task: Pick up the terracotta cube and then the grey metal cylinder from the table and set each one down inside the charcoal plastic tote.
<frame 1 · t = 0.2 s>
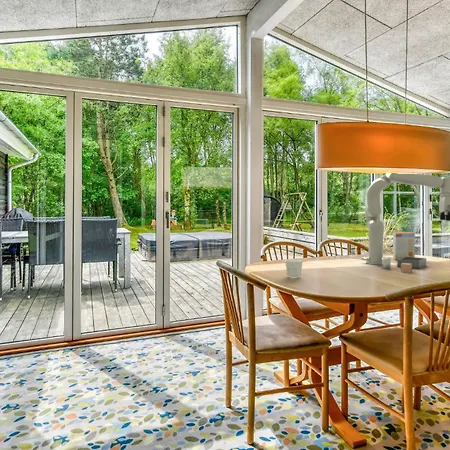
hand: (445, 220, 257), 31 cm above the table, tool pointing down, fingers open, 9 cm apart
metal cylinder: (386, 268, 247), on the table
cracker box: (403, 259, 285), on the table
tote: (411, 266, 256), on the table
cup: (293, 277, 221), on the table
terracotta cube: (406, 271, 237), on the table
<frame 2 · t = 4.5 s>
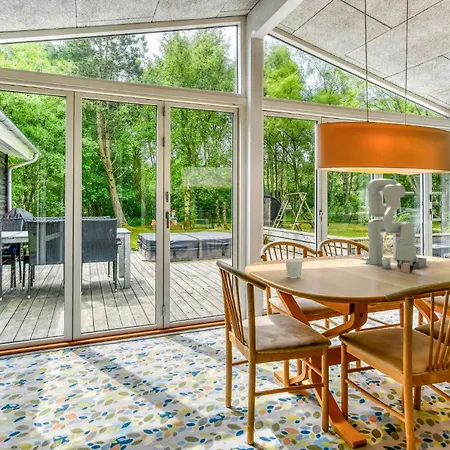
hand: (406, 270, 237), 0 cm above the table, tool pointing down, fingers closed on terracotta cube, 5 cm apart
terracotta cube: (406, 271, 237), on the table, touching gripper
everything else where it was.
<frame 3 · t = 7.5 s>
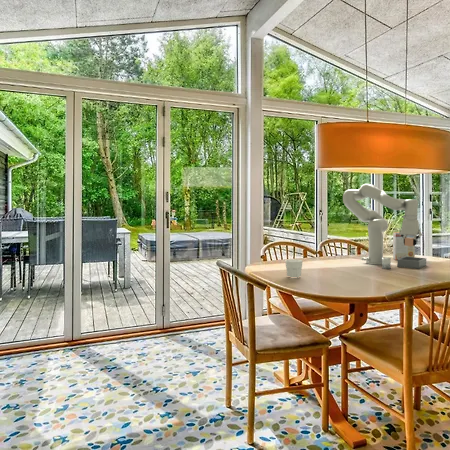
hand: (409, 244, 251), 15 cm above the table, tool pointing down, fingers closed on terracotta cube, 5 cm apart
terracotta cube: (409, 245, 251), point 15 cm above the table, touching gripper
everything else where it was.
when the fingers open (3 cm above the table, at t = 10.6 s): terracotta cube drops 1 cm, resting on tote.
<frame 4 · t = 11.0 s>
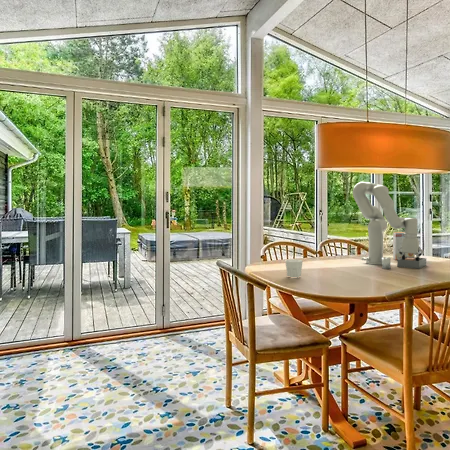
hand: (410, 262, 253), 3 cm above the table, tool pointing down, fingers open, 7 cm apart
terracotta cube: (410, 265, 254), point 1 cm above the table, touching tote
everything else where it was.
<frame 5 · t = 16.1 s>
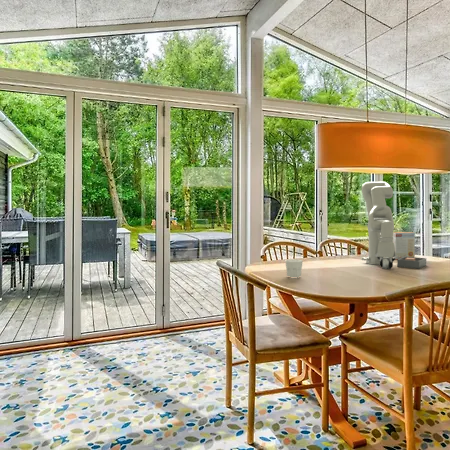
hand: (386, 267, 247), 1 cm above the table, tool pointing down, fingers closed on metal cylinder, 5 cm apart
metal cylinder: (386, 268, 247), on the table, touching gripper
everything else where it was.
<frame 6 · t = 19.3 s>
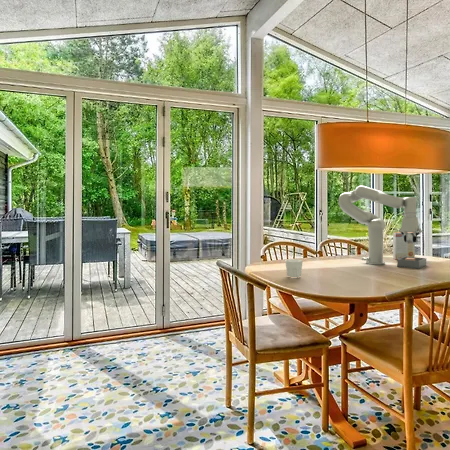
hand: (410, 241, 256), 17 cm above the table, tool pointing down, fingers closed on metal cylinder, 5 cm apart
metal cylinder: (410, 243, 256), point 16 cm above the table, touching gripper
everything else where it was.
when the fingers open (3 cm above the table, at t = 22.7 s): metal cylinder drops 1 cm, resting on tote.
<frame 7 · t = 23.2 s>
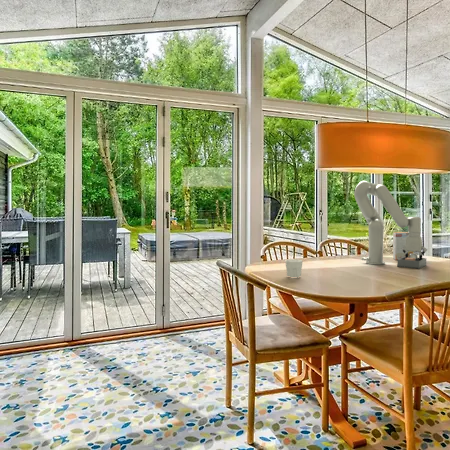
hand: (413, 260, 259), 4 cm above the table, tool pointing down, fingers open, 7 cm apart
metal cylinder: (413, 264, 259), point 1 cm above the table, touching tote
everything else where it was.
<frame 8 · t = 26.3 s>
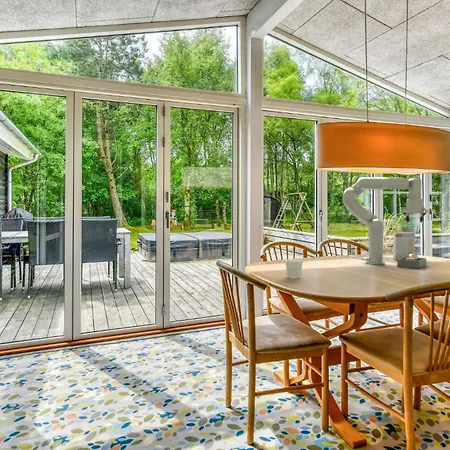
hand: (414, 222, 257), 30 cm above the table, tool pointing down, fingers open, 7 cm apart
nothing on the table moved.
at the end: terracotta cube inside the target area on the tote (3.8 cm from its centre), point 0.8 cm above the tote's base; metal cylinder inside the target area on the tote (3.7 cm from its centre), point 0.8 cm above the tote's base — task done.
